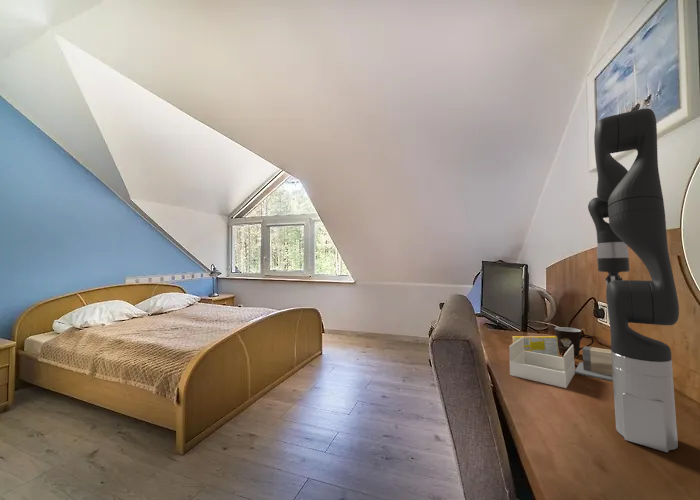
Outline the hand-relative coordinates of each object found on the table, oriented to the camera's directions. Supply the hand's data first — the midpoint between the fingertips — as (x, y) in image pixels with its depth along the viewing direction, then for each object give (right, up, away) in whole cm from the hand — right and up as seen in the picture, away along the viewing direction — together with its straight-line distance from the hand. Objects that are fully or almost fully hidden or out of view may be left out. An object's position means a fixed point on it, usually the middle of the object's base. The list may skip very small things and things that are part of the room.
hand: (615, 307), depth 92 cm
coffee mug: (+4, -24, +23) cm, 33 cm away
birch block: (-1, -22, +5) cm, 23 cm away
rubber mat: (0, -23, +5) cm, 23 cm away
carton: (-20, -23, +5) cm, 31 cm away
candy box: (-12, -24, +22) cm, 34 cm away
